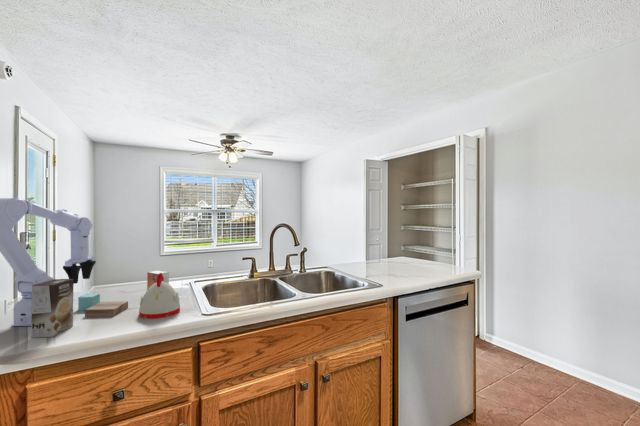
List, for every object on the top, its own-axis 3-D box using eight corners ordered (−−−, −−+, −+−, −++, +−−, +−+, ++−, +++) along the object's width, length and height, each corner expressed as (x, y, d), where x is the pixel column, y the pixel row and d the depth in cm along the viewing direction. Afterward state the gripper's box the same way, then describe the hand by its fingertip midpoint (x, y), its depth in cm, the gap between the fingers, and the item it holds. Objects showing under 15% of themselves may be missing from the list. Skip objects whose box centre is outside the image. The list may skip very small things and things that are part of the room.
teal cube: (92, 309, 121) (92, 297, 121) (78, 310, 121) (78, 297, 121) (99, 305, 126) (99, 293, 126) (86, 306, 126) (86, 293, 126)
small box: (146, 294, 143) (146, 272, 143) (158, 292, 148) (158, 270, 148) (157, 297, 139) (158, 273, 139) (169, 294, 144) (169, 271, 144)
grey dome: (134, 320, 110) (134, 278, 110) (144, 308, 124) (145, 270, 123) (176, 316, 114) (176, 276, 114) (182, 305, 127) (182, 269, 127)
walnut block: (114, 317, 114) (114, 309, 114) (84, 317, 113) (85, 309, 113) (127, 308, 124) (128, 301, 124) (101, 309, 123) (101, 301, 123)
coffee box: (53, 337, 95) (53, 285, 95) (30, 338, 94) (30, 285, 94) (73, 326, 104) (74, 278, 104) (53, 326, 103) (53, 278, 103)
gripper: (78, 249, 117) (79, 285, 117) (101, 244, 131) (101, 276, 132) (58, 249, 116) (59, 285, 116) (83, 244, 131) (83, 276, 131)
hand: (80, 281), depth 124 cm, fingers open, 7 cm apart
